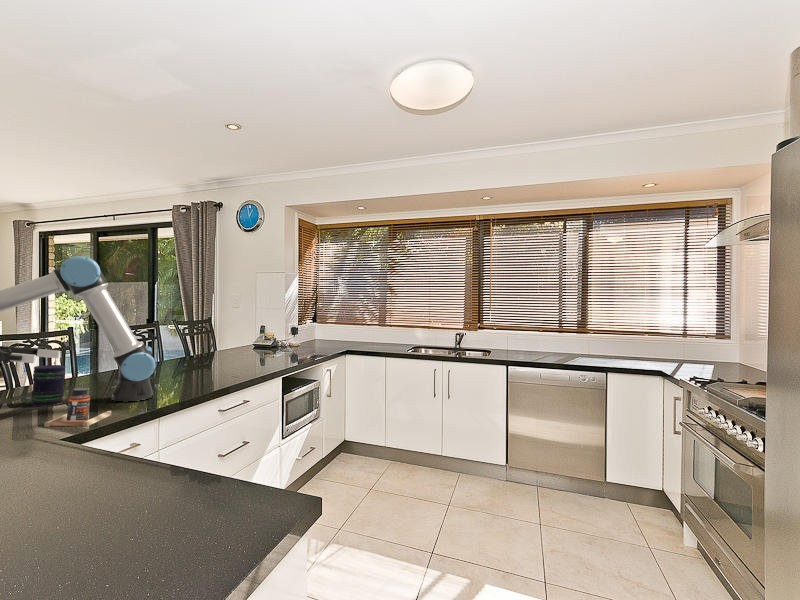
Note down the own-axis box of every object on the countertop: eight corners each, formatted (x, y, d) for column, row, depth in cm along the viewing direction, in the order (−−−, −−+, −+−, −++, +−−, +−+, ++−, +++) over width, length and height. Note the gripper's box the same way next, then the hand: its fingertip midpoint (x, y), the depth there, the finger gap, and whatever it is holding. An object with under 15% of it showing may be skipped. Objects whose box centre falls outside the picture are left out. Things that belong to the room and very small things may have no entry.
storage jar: (47, 407, 155) (51, 368, 156) (23, 405, 156) (26, 367, 156) (69, 401, 165) (72, 365, 166) (46, 400, 166) (49, 364, 166)
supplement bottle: (75, 424, 135) (78, 391, 136) (61, 422, 136) (64, 389, 137) (92, 420, 141) (95, 388, 142) (78, 418, 142) (81, 386, 143)
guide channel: (73, 414, 147) (73, 411, 147) (111, 414, 149) (111, 411, 149) (44, 426, 131) (44, 422, 131) (86, 426, 134) (87, 422, 134)
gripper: (-1, 356, 147) (65, 362, 152) (-61, 366, 122) (21, 373, 127) (2, 336, 147) (69, 343, 152) (-57, 342, 123) (25, 349, 128)
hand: (47, 356), depth 140 cm, fingers open, 13 cm apart
